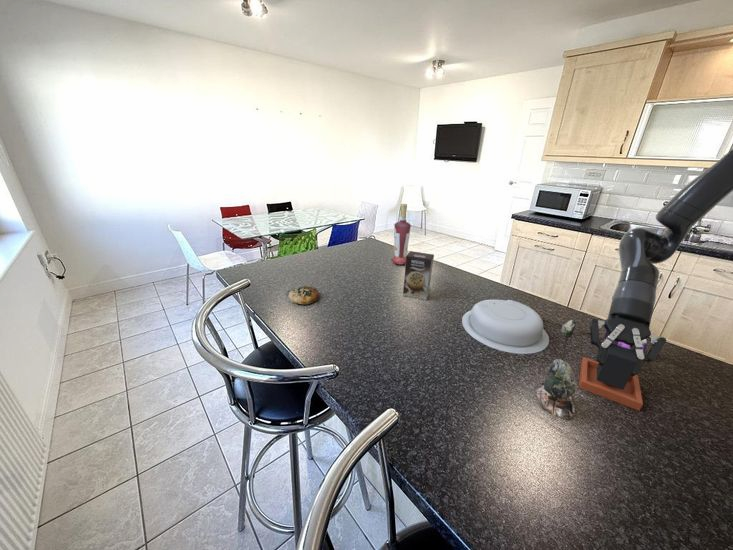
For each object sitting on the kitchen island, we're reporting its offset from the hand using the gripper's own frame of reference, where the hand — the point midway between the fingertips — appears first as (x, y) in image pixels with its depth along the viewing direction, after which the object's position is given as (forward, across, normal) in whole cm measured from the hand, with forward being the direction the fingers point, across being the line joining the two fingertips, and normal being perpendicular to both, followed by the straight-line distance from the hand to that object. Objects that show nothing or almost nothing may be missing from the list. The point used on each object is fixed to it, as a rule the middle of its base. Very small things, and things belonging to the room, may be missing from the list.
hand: (616, 369), depth 67 cm
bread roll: (+14, -89, -5) cm, 90 cm away
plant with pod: (+14, -10, -5) cm, 18 cm away
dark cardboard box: (-6, -58, +15) cm, 60 cm away
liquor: (-23, -79, +32) cm, 88 cm away
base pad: (+3, 0, +5) cm, 6 cm away
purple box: (-9, +3, +18) cm, 20 cm away
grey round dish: (-4, -26, +13) cm, 29 cm away
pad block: (+2, 0, +4) cm, 5 cm away
